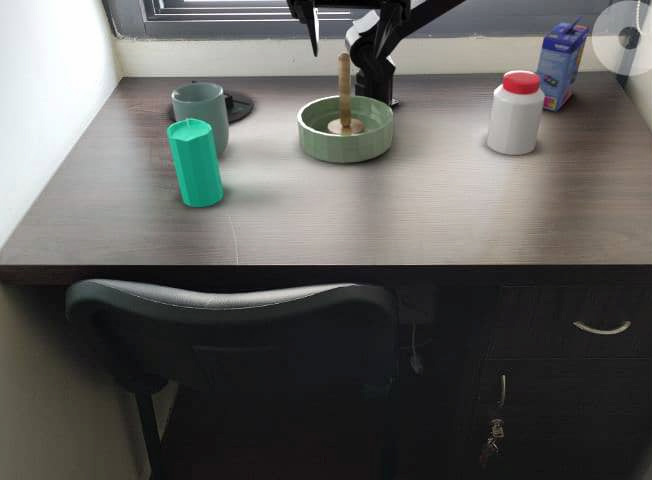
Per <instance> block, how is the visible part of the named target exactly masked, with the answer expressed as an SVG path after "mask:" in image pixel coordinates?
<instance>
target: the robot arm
mask: <svg viewBox="0 0 652 480" xmlns="http://www.w3.org/2000/svg"><path fill="white" fill-rule="evenodd" d="M466 1H467V0H286V5H287V7H288V9H289V13H290V15H291V17H292V18H293V19H295V20H298V22H299V23H300V24H302V25H306V27H307V31H308V35H309V39H310V45H311V48H312V53H313V56H314V57H315V58H318V56H319V45H320V44H319V42H320V41H319V40H320V39H319V35H320V34H319V33H320V31H319V27H320V26H319V18H318V12H319V9H340V10H342V9H343V10H370V11H369V12H367V13H366V14H365V15H364V16H362V17H361V18H359V19H355V20H353V21H352V24H353V25H352V26H351V27H350V28H349V29H348V30H347V32H346V35H345V38H344V46H345V48H346V51H347V53H348V54H349V56H350V62H352V64H353V65H354V66H355V67H356V68H357V69H358V71H357V72H356V73H355V83H354V96H363V97H368V98H373V99H376V100H378V101H380V102H383V103H385V104H386V105H387V106H388V107H389V108H391V109H392V108H393V107H396V106H398V105H399V100H396V99H394V98H393V91H394V90H393V89H394V75H395V72H396V69H397V67H396V65H395V63H394V61H393V58H391V56H390V55H391V54H392V53H393V51H394V50H395V49H396V48H397V47H398V45H399V44H400V42H402V41H403V40H404V39H405V38H407V37H408V36H410V35H412V34H414V33H415V32H417V31H419V30H420V29H422V28H423V27H425V26H427V25H428V24H430V23H432V22H433V21H435V20H437V19H438V18H440V17H441V16H443V15H445V14H447V13H448V12H450V11H452V10H453V9H455V8H456V7H458V6H459V5H461V4H463V3H465V2H466ZM375 10H379V16H378V14H377V13H376V11H375Z"/></svg>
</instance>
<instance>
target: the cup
mask: <svg viewBox="0 0 652 480" xmlns="http://www.w3.org/2000/svg"><path fill="white" fill-rule="evenodd" d="M223 91H224V89H223V88H222V87H221V86H220V85H219V84H217V83H213V82H212V83H211V82H198V83H192V82H191V83H187V84H183V85H181V86H179V87H177V88H175V90H173V91H172V93H171V104H172V105H173V109H174V114H175V118H176V122H175V123H177V122H180V121H183V120H187V119H191V118H192V119H197V120H201V121H204V122H205V123H207V124H209V125H210V126H211V128H212V133H213V139H214V144H215V150H216V155H217V157H218V156H220V155H221V154H222V153H223V152H224V151H225V150H226V149H227V147H228V144H229V139H230V128H229V127H230V126H229V125H230V124H228V116H227V110H226V103H225V97H224V93H223ZM186 118H187V119H186Z"/></svg>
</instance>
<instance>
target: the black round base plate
mask: <svg viewBox="0 0 652 480" xmlns="http://www.w3.org/2000/svg"><path fill="white" fill-rule="evenodd" d="M191 83H199V82H198V81H196V80H191ZM223 93H224V97H225V103H226V110H227V116H228V125H230V124H233V123H236V122H238V121H241V120H243V119H244V118H246V117H247V116H248V115H250V113H251V112H252V111H253V107H254V105H253V101H252V100H251V99H250V98H249V97H248V96H246V95H245V94H242V93H239V92H236V91H235V92H234V91H229V90H223ZM169 116H170V118H171V120H172V121H174V123H177V122H176V118H175V114H174V109H173V104H172V105H171V107H170V108H169Z"/></svg>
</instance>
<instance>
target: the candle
mask: <svg viewBox="0 0 652 480" xmlns="http://www.w3.org/2000/svg"><path fill="white" fill-rule="evenodd" d="M186 119H187V118H186ZM166 134H167V139H168V143H169V146H170V152H171V156H172V159H173V164H174V169H175V172H176V177H177V181H178V185H179V189H180V193H181V198H182V201H183V204H185V205H187V206H188V207H194V208H205V207H209V206H210V207H211V206H213V205H215V204H217V203H218V202H220V201H221V200H222V198H223V197H224V195H225V194H224V190H223V183H222V178H221V173H220V167H219V161H218V156H217V155H216V150H215V144H214V139H213V133H212V128H211V126H210V125H209V124H207V123H205V122H204V121H201V120H197V119H192V118H191V119H187V120H183V121H180V122H174V123H172V124H170V126H169V127H168V128H167V129H166Z"/></svg>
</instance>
